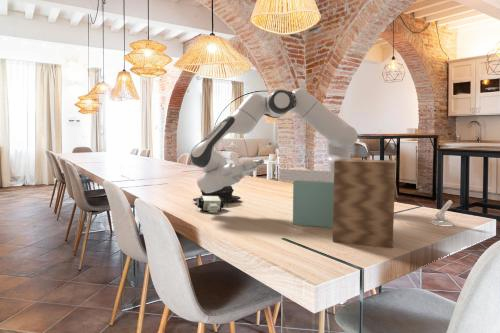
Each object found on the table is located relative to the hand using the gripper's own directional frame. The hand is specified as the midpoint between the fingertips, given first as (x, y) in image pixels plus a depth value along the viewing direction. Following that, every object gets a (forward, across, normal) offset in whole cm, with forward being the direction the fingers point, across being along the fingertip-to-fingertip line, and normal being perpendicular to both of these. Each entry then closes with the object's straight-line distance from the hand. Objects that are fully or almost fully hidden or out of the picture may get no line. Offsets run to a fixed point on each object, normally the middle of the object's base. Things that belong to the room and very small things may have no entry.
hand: (259, 162), depth 153 cm
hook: (+55, +14, +49) cm, 75 cm away
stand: (+31, -20, +38) cm, 53 cm away
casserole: (-38, +24, +10) cm, 46 cm away
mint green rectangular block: (+14, -3, +31) cm, 34 cm away
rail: (+20, -4, +15) cm, 25 cm away
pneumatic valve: (-28, -1, +12) cm, 30 cm away
